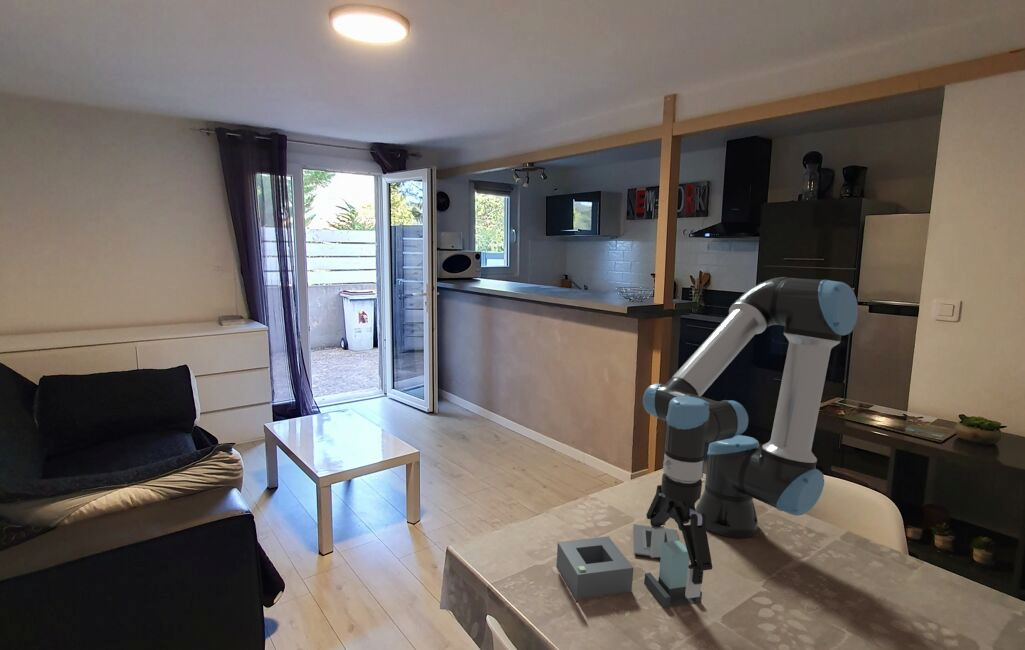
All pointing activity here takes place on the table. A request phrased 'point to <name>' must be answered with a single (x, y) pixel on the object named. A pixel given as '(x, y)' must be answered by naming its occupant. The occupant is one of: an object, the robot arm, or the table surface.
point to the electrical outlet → (649, 539)
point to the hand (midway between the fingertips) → (673, 575)
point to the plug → (674, 569)
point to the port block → (593, 567)
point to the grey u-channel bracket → (664, 596)
